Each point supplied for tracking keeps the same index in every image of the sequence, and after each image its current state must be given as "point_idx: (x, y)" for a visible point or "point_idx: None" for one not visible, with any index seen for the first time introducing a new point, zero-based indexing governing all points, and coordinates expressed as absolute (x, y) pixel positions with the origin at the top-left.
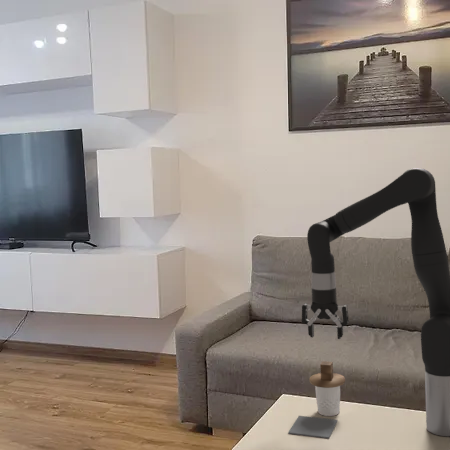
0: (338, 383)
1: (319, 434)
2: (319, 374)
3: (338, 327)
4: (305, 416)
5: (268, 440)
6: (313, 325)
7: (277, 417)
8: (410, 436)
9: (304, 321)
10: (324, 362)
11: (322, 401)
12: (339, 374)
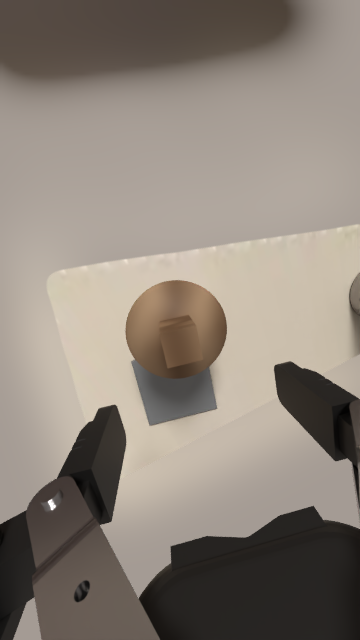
0: (219, 350)
1: (199, 407)
2: (141, 310)
3: (344, 454)
4: None
5: (133, 455)
6: (96, 470)
7: (96, 381)
8: (329, 340)
9: (12, 611)
10: (171, 343)
11: None
12: (195, 284)
